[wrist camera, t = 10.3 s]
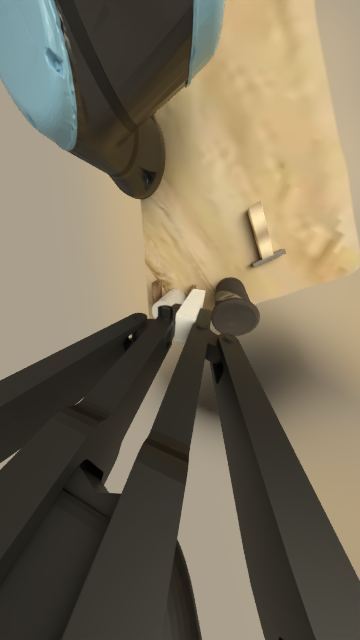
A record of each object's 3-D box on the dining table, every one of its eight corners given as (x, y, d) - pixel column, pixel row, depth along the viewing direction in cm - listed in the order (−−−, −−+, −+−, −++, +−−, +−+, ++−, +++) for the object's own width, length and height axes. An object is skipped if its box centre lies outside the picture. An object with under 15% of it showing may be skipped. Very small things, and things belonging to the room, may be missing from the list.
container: (223, 271, 39) (222, 293, 22) (251, 282, 38) (272, 312, 22) (211, 296, 44) (204, 329, 27) (236, 306, 43) (243, 345, 27)
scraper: (237, 217, 32) (238, 215, 30) (269, 195, 28) (273, 192, 26) (252, 266, 36) (254, 267, 34) (282, 252, 33) (285, 253, 31)
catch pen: (158, 279, 46) (152, 282, 42) (196, 285, 43) (193, 289, 39) (159, 312, 53) (154, 318, 49) (191, 319, 51) (188, 326, 46)
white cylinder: (165, 305, 51) (151, 320, 41) (167, 286, 46) (152, 297, 36) (184, 311, 50) (174, 328, 40) (188, 292, 45) (179, 305, 35)
